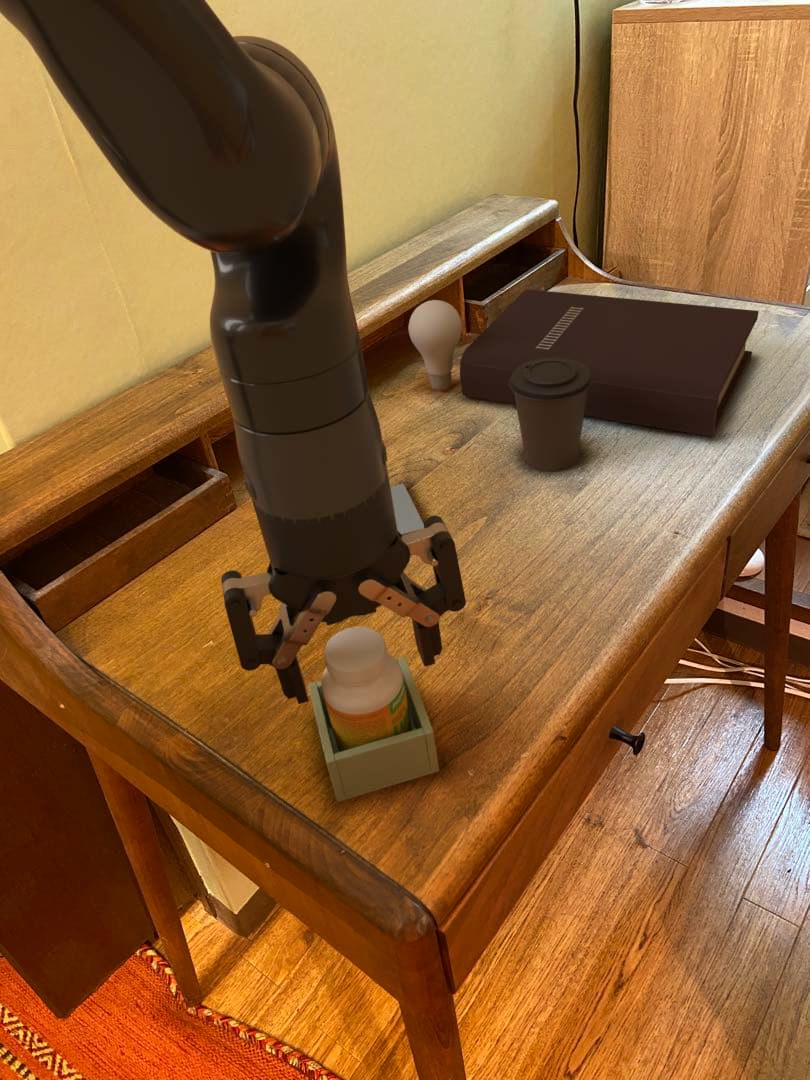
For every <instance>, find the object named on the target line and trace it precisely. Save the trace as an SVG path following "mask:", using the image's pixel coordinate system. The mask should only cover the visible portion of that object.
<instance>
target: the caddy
mask: <svg viewBox="0 0 810 1080" xmlns="http://www.w3.org/2000/svg"><path fill="white" fill-rule="evenodd" d="M395 659H396V660H397V661H398V663H399V665H400V667H401V671H402V675H403V681H404V686H405V692H406V698H407V703H408V708H409V714H410V720H411V726H412V731H410V732H406V733H403V734H399V735H396V736H393V737H389V738H386V739H382V740H379V741H376V742H372V743H369V744H365V745H362V746H358V747H355V748H352V749H348V750H345V751H341V752H339V750H338V747H337V743H336V740H335V736H334V732H333V728H332V725H331V721H330V717H329V713H328V710H327V706H326V702H325V699H324V695H323V690H322V679H320V680H317V681H312V682H308V684H307V688H308V691H309V695H310V699H311V704H312V708H313V712H314V716H315V721H316V727H317V728H318V729H317V730H318V734H319V738H320V743H321V746H322V751H323V755H324V759H325V764H326V768H327V771H328V774H329V778H330V781H331V785H332V788H333V792H334V795H335V799H336V801H337V803H339V802H343V801H346V800H349V799H352V798H356V797H359V796H362V795H366V794H368V793H372V792H373V793H374V792H376V791H379V790H383V789H385V788H389V787H392V786H395V785H398V784H402V783H405V782H408V781H412V780H415V779H419V778H421V777H425V776H429V775H432V774H435V773H438V772H440V766H439V759H438V753H437V746H436V740H435V734H434V729H433V727H432V724H431V721H430V719H429V716H428V713H427V711H426V708H425V706H424V703H423V700H422V698H421V695H420V692H419V689H418V687H417V685H416V682H415V679H414V676H413V674H412V671H411V669H410V666H409V664H408V659H407V658H406V656H401V657H398V658H395Z"/></svg>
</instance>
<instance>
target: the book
mask: <svg viewBox="0 0 810 1080" xmlns="http://www.w3.org/2000/svg"><path fill="white" fill-rule="evenodd" d="M758 319H759V310H756V309H755V310H754V309H745V308H744V309H743V308H732V307H722V306H712V305H701V304H700V305H699V304H690V303H689V304H688V303H678V302H668V301H667V302H666V301H657V300H647V299H635V298H626V297H625V298H624V297H613V296H603V295H593V294H582V293H571V292H559V291H550V290H540V289H539V290H538V289H530V288H529V289H528V288H524V290H523V291H522V292H521V293H520V294H519V295H518V296H517V297H516V298H515V299H514V300H513V301H512V302H511V303H510V304H509V305H508V306H507V307H506V308H505V309H504V310H503V311H502V312H501V313H500V314H499V315H498V316H497V317H496V318H495V319H494V320H493V321H492V322H491V323H490V324H489V325H488V326H487V327H486V328H485V329H484V330H483V331H482V332H481V333H480V334H478V336H477V337H475V339H474V340H473V341H472V342H471V343H470V344H469V345H468V346H467V347H466V348H465V349H464V351H463V353H462V355H461V357H460V358H461V359H460V361H459V384H460V389H461V394H462V395H463V396H464V397H466V398H471V399H477V400H481V401H488V402H495V403H500V404H501V403H502V404H507V405H514V406H516V400H515V394H514V392H513V391H512V390H511V388H510V387H509V381H508V380H509V378H510V377H511V375H512V373H513V371H514V370H515V369H516V368H517V367H519V366H520V365H522V364H524V363H527V362H529V361H533V360H536V359H542V358H566V359H571V360H575V361H578V362H580V363H582V364H584V365H585V366H586V367H587V368H588V369H589V371H590V372H591V373H592V376H593V383H592V385H591V387H590V388H589V389H588V391H587V397H586V404H585V411H584V417H588V418H595V419H601V420H607V421H613V422H619V423H624V424H625V423H626V424H632V425H638V426H643V427H644V426H645V427H651V428H657V429H663V430H668V431H675V432H682V433H686V434H687V433H688V434H694V435H699V436H705V437H706V436H707V437H712V438H714V437H715V435H716V434H717V432H718V430H719V428H720V426H721V424H722V421H723V420H724V417H725V415H726V413H727V411H728V409H729V407H730V405H731V403H732V400H733V399H734V397H735V394H736V392H737V390H738V388H739V385H740V383H741V382H742V380H743V378H744V375H745V373H746V371H747V369H748V367H749V364H750V362H751V360H752V357H753V351H750V350H746V344H747V341H748V339H749V338H750V335H751V333H752V332H753V329H754V327H755V326H756V325H755V324H756V322H757V321H758Z"/></svg>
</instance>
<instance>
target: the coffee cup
mask: <svg viewBox="0 0 810 1080" xmlns="http://www.w3.org/2000/svg"><path fill="white" fill-rule="evenodd" d="M508 381H509V387H510V388H511V390H512V391H513V392H514V394H515V400H516V405H515V406H516V412H517V417H518V424H519V430H520V437H521V442H522V448H523V454H524V461H525V462H526V464H527V465H528V466H529V467H532V469H535V470H538V471H541V472H542V471H543V472H559V471H563V470H566V469H568V468H570V467H572V466H573V465H574V464H576V462H577V460H578V457H579V452H580V451H579V450H580V443H581V438H582V437H581V436H582V431H583V424H584V417H585V416H584V411H585V404H586V397H587V391H588V389H589V388H590V387H591V385H592V383H593V376H592V373H591V372H590V371H589V369H588V368H587V367H586V366H585V365H584V364H582V363H580V362H578V361H575V360H571V359H566V358H542V359H536V360H533V361H529V362H527V363H524V364H522V365H520V366H519V367H517V368H516V369H515V370H514V371H513V373H512V375H511V377H510V378H509V380H508Z"/></svg>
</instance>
